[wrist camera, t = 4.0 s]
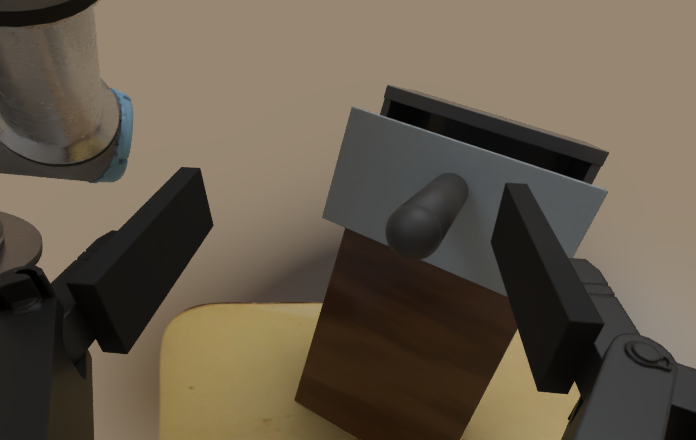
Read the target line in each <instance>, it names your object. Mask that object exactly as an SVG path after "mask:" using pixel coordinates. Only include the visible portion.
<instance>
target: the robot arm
mask: <svg viewBox="0 0 696 440" xmlns="http://www.w3.org/2000/svg"><path fill="white" fill-rule="evenodd" d="M99 1H101V0H0V173H5V174H15V175H27V176H37V177H47V178H57V179H69V180H80V181H88V182H89V183H97V182H115V181H117V180H119V179H120V178H121V177H122V176H123V174H124V172H125V169H126V166H127V158H128V157H129V153H130V148H131V140H132V130H133V107H132V103H131V99H130V98H129V96H128V95H127V94H125V93H123V92H119V91H117V90H115V89H112V88H109V87H108V86H107V85H106V83H105V82H104V81H103V80H102V79H101V78H100V72H99V61H98V49H97V40H96V39H97V38H96V27H95V16H94V6H95V5H96V4H98V2H99ZM212 227H213V221H212V217H211V213H210V208H209V204H208V200H207V195H206V191H205V187H204V183H203V178H202V174H201V170H200V168H189V167H188V168H187V167H181V168H180V169H179V170H178V171H177V172H176V173H175V174H174V175H173V176H172V177H171V178H170V179H169V180H168V181H167V182H166V183H165V184H164V185H163V186H162V187H161V188H160V189H159V190H158V191H157V192H156V193H155V194H154V195H153V196H152V197H151V198H150V199H149V200H148V201H147V202H146V203H145V204H144V205H143V206H142V207H141V208H140V209H139V210H138V211H137V212H136V213H135V214H134V215H133V216H132V217H131V218H130V219H129V220H128V221H127V223H125V224H124V225H123V226H122V227H121V228H120V229H119V230H118V231H110V232H109V233H107V234H105V235H103V236H102V237H100V238H98V239H97V240H96V241H94V242H93V243H92V244H91V245H90V246H89V247H88V248H87V249H86V252H83V253H82V254H81V255H80V256H79V257H78V258H77V260H75V261H74V262H73V263H72V264H71V265H70V266H68V268H66V269H65V270H64V271H63V272H62V273H61V274H60V275H59V276H58V277H57V278H56V279H55V280H54V281H53V282H52V283H51V284H50V282H49V281H48V279H47V277H46V275H45V274H44V272H43V270H42V269H41V268H39V267H37V266H28V265H27V266H21V267H15V268H13V269H10V270H7V271H4V272H2V273H0V440H94V422H93V387H92V358H91V355H90V353H89V351H88V348H89V347H90V345H91V344H92V343H93V342H94V340H95V339H96V340H97V341H98V344H99V346H100V348H101V349H102V351H103V352H109V353H120V354H128V352H129V351H130V350H131V348H132V346H133V345H134V344H135V342H136V341H137V339H138V338H139V336H140V335H141V333H142V332H143V330H144V329H145V327H146V326H147V324H148V323H149V321H150V320H151V318H152V316H153V315H154V313H155V312H156V311H157V309H158V308H159V306H160V305H161V303H162V302H163V300H164V299H165V297H166V296H167V294H168V293H169V291H170V290H171V288H172V287H173V285H174V284H175V282H176V281H177V279H178V278H179V276H180V275H181V273H182V272H183V270H184V269H185V267H186V266H187V264H188V263H189V261H190V260H191V258H192V257H193V255H194V254H195V252H196V251H197V249H198V248H199V247H200V245H201V244H202V242H203V241H204V239H205V238H206V236H207V235H208V233H209V231H210V230H211V229H212ZM4 242H5V238H4V228H3V225H2V222H1V220H0V250H1V249H2V247H3V245H4ZM490 243H491V246H492V249H493V252H494V255H495V258H496V261H497V265H498V268H499V271H500V274H501V277H502V280H503V283H504V287H505V290H506V293H507V296H508V299H509V302H510V305H511V309H512V312H513V315H514V318H515V321H516V324H517V327H518V331H519V334H520V337H521V340H522V343H523V346H524V349H525V353H526V356H527V359H528V362H529V365H530V368H531V371H532V375H533V378H534V381H535V384H536V387H537V390H538V392H549V393H560V394H568V392H569V390H570V389H571V387H572V385H573V383H574V381H575V382H576V385H577V387H578V390H579V392H580V395H581V396H580V398H579V400H578V401H577V403H576V405H575V407H574V408H573V410H572V412H571V414H570V416H569V417H568V420H569V422H568V425H567V427H566V430H565V432H564V434H563V437H562V439H561V440H696V369H694V368H691V367H687V366H684V365H681V364H679V363H677V362H676V361H675V359H674V358H673V356H672V355H671V354H670V353H669V352H668V351H667V350H666V349H665V348H664V347H663V346H661V345H660V344H658V343H657V342H655V341H653V340H651V339H650V338H647V337H644V336H641V335H640V334H639V332H638V330H637V329H636V327H635V326H634V324H633V323H632V321H631V319H630V318H629V316H628V315H627V313H626V311H625V310H624V308H623V307H622V305H621V304H620V302H619V301H618V299H617V298H616V297H615V296H614V292H613V291H612V289H611V288H610V287H609V286H608V283H607V281H606V280H605V278H604V277H603V275H602V273H601V272H600V271H599V270H598V269H597V268H596V267H595V266H593V265H592V264H591V263H590V262H589V261H587V260H586V259H574V258H568V257H567V255H566V253H565V251H564V249H563V248H562V246H561V244H560V242H559V240H558V239H557V237H556V235H555V233H554V231H553V230H552V228H551V226H550V224H549V222H548V221H547V219H546V217H545V215H544V213H543V212H542V210H541V208H540V206H539V204H538V203H537V201H536V199H535V197H534V195H533V194H532V192H531V190H530V188H529V186H528V185H527V184H523V183H505V187H504V191H503V194H502V198H501V202H500V206H499V210H498V214H497V218H496V222H495V226H494V230H493V234H492V238H491V242H490Z"/></svg>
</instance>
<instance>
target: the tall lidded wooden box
mask: <svg viewBox="0 0 696 440" xmlns="http://www.w3.org/2000/svg"><path fill="white" fill-rule="evenodd" d="M384 98H385V99H384V103H383V106H382V109H381V113H380V115H382V116H385V117H388V118H391V119H394V120H397V121H400V122H403V123H406V124H409V125H412V126H415V127H418V128H421V129H424V130H427V131H430V132H434V133H437V134H440V135H443V136H446V137H449V138H452V139H455V140H458V141H461V142H464V143H467V144H470V145H473V146H476V147H479V148H482V149H485V150H488V151H491V152H494V153H497V154H500V155H503V156H507V157H510V158H513V159H516V160H519V161H522V162H525V163H528V164H531V165H534V166H537V167H540V168H543V169H546V170H549V171H552V172H555V173H558V174H561V175H564V176H567V177H570V178H573V179H577V180H580V181H583V182H586V183H589V184H592V183H593V181H594V179H595V177H596V175H597V173H598V171H599V169H600V167H601V166H603V164H604V162H605V160H606V158H607V156H608V154H609V152H607V151H605V150H603V149H600V148H598V147H596V146H594V145H591V144H589V143H587V142H584V141H580V140H577V139H573V138H570V137H567V136H564V135H560V134H557V133H553V132H550V131H547V130H544V129H540V128H537V127H534V126H531V125H527V124H524V123H521V122H517V121H513V120H510V119H507V118H504V117H501V116H497V115H494V114H491V113H487V112H484V111H481V110H477V109H474V108H471V107H468V106H464V105H461V104H458V103H454V102H451V101H448V100H444V99H441V98H438V97H434V96H431V95H428V94H424V93H421V92H418V91H413V90H409V89H404V88H400V87H395V86H390V85H388V86H387V88H386V92H385V95H384ZM517 329H518V327H517V324H516V321H515V318H514V315H513V312H512V309H511V305H510V302H509V299H508V297H507V296H504V295H502V294H500V293H497V292H495V291H493V290H490V289H488V288H486V287H483V286H481V285H479V284H476V283H474V282H472V281H469V280H467V279H465V278H462V277H460V276H458V275H455V274H453V273H451V272H448V271H446V270H444V269H441V268H439V267H436V266H434V265H432V264H429V263H427V262H425V261H422V260H407V259H404V258H401V257H400V256H398V255H397V254H395V253H394V252H393V251H392V250H391V249H390V247H389V246H387V245H385V244H383V243H380V242H378V241H376V240H373V239H371V238H369V237H366V236H364V235H362V234H359V233H357V232H354V231H352V230H350V229H347V228H345V231H344V234H343V238H342V241H341V244H340V248H339V251H338V254H337V258H336V261H335V265H334V268H333V271H332V275H331V278H330V282H329V285H328V288H327V292H326V295H325V299H324V302H323V305H322V309H321V312H320V315H319V319H318V322H317V326H316V329H315V332H314V336H313V339H312V343H311V346H310V349H309V353H308V356H307V359H306V363H305V366H304V370H303V373H302V376H301V380H300V383H299V387H298V390H297V393H296V397H295V401H297V402H298V403H300V404H302V405H303V406H305V407H307V408H308V409H310V410H312V411H314V412H315V413H317V414H319V415H320V416H322V417H324V418H325V419H327V420H329V421H331V422H332V423H334V424H336V425H337V426H339V427H341V428H342V429H344V430H346V431H348V432H349V433H351V434H353V435H354V436H356V437H358V438H360V439H361V440H460V438H461V436H462V434H463V433H464V431H465V429H466V427H467V425H468V423H469V421H470V419H471V417H472V415H473V413H474V411H475V409H476V408H477V406H478V404H479V402H480V400H481V398H482V396H483V394H484V392H485V390H486V388H487V386H488V385H489V383H490V381H491V379H492V377H493V375H494V373H495V371H496V369H497V367H498V365H499V363H500V361H501V360H502V358H503V356H504V354H505V352H506V350H507V348H508V346H509V344H510V342H511V340H512V338H513V337H514V335H515V333H516V331H517Z"/></svg>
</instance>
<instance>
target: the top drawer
mask: <svg viewBox="0 0 696 440" xmlns="http://www.w3.org/2000/svg"><path fill="white" fill-rule="evenodd" d="M505 183H523V184H527V185H528V186H529V188H530V190H531V192H532V194H533V195H534V197H535V199H536V201H537V203H538V204H539V206H540V208H541V210H542V212H543V213H544V215H545V217H546V219H547V221H548V222H549V224H550V226H551V228H552V230H553V231H554V233H555V235H556V237H557V239H558V240H559V242H560V244H561V246H562V248H563V249H564V251H565V253H566V255H567V257H568V258H573V256H574V254H575V253H576V251H577V249H578V247H579V245H580V243H581V241H582V240H583V238H584V236H585V234H586V232H587V230H588V228H589V226H590V225H591V223H592V221H593V219H594V217H595V216H596V214H597V212H598V210H599V208H600V206H601V204H602V202H603V201H604V199H605V197H606V195H607V193H608V191H607V190H606V189H603V188H601V187H597V186H595V185H592V184H589V183H586V182H583V181H580V180H577V179H573V178H570V177H567V176H564V175H561V174H558V173H555V172H552V171H549V170H546V169H543V168H540V167H537V166H534V165H531V164H528V163H525V162H522V161H519V160H516V159H513V158H510V157H507V156H503V155H500V154H497V153H494V152H491V151H488V150H485V149H482V148H479V147H476V146H473V145H470V144H467V143H464V142H461V141H458V140H455V139H452V138H449V137H446V136H443V135H440V134H437V133H434V132H430V131H427V130H424V129H421V128H418V127H415V126H412V125H409V124H406V123H403V122H400V121H397V120H394V119H391V118H388V117H385V116H382V115H379V114H375V113H372V112H370V111H366V110H364V109H360V108H357V107H352V109H351V112H350V116H349V119H348V123H347V127H346V131H345V134H344V138H343V142H342V145H341V149H340V153H339V157H338V160H337V164H336V168H335V171H334V176H333V179H332V183H331V186H330V190H329V194H328V197H327V201H326V205H325V209H324V212H323V218H324V219H326V220H329V221H331V222H333V223H336V224H338V225H340V226H343V227H345V228H347V229H350V230H352V231H354V232H357V233H359V234H362V235H364V236H366V237H369V238H371V239H373V240H376V241H378V242H380V243H383V244H385V245H387V246H389V247H390V249H391V250H392V251H393V252H394V253H395V254H397V255H398V256H400V257H401V258H404V259H407V260H422V261H425V262H427V263H429V264H432V265H434V266H436V267H439V268H441V269H444V270H446V271H448V272H451V273H453V274H455V275H458V276H460V277H462V278H465V279H467V280H469V281H472V282H474V283H476V284H479V285H481V286H483V287H486V288H488V289H490V290H493V291H495V292H497V293H500V294H502V295H504V296H507V293H506V290H505V287H504V283H503V280H502V277H501V274H500V271H499V268H498V265H497V261H496V258H495V255H494V252H493V249H492V246H491V243H490V242H491V238H492V234H493V230H494V226H495V222H496V218H497V214H498V210H499V206H500V202H501V198H502V194H503V191H504V187H505ZM507 297H508V296H507Z"/></svg>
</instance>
